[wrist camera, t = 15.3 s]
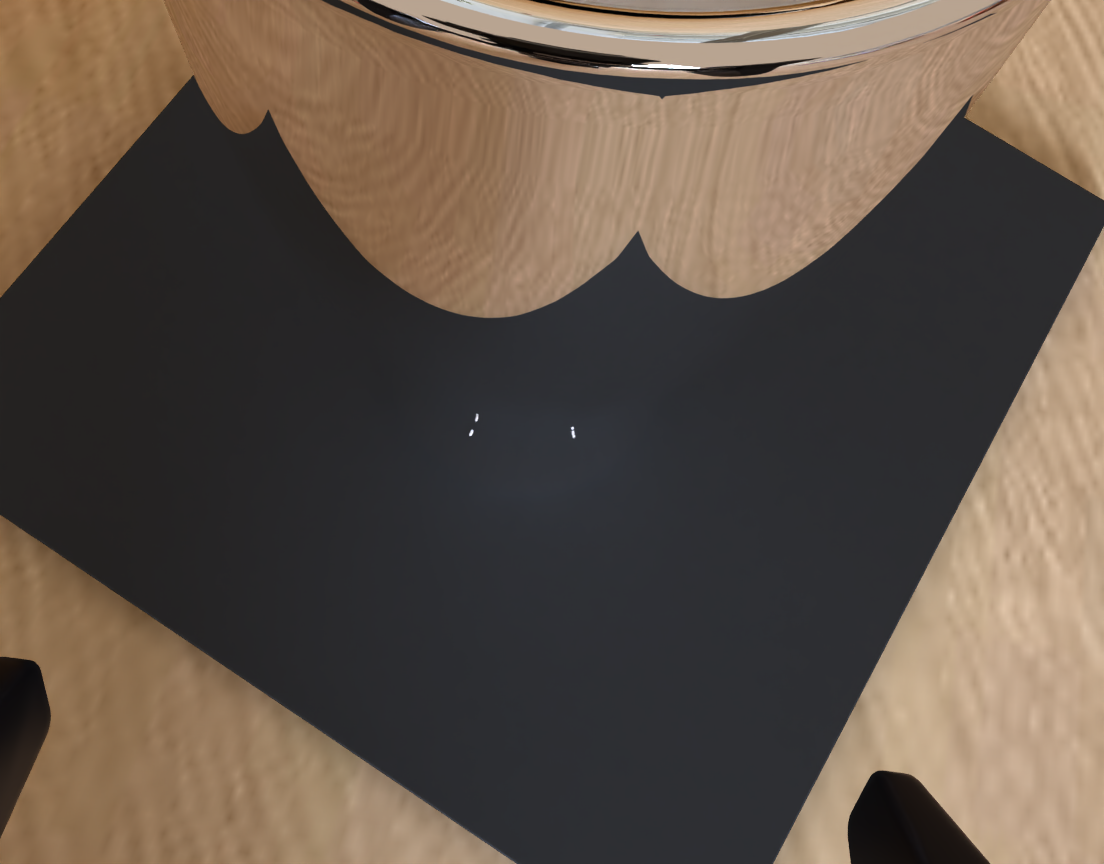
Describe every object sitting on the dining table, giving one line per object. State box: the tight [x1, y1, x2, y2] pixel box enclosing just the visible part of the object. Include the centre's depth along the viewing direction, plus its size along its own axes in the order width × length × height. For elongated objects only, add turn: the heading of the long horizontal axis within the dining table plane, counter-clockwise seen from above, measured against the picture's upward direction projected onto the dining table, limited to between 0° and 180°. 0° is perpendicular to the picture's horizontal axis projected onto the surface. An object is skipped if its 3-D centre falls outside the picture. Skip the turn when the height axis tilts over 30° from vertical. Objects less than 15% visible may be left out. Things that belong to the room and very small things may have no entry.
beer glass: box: [163, 0, 1051, 495], centre depth 12 cm, size 7×7×15 cm
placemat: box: [0, 75, 1104, 864], centre depth 20 cm, size 20×20×1 cm
